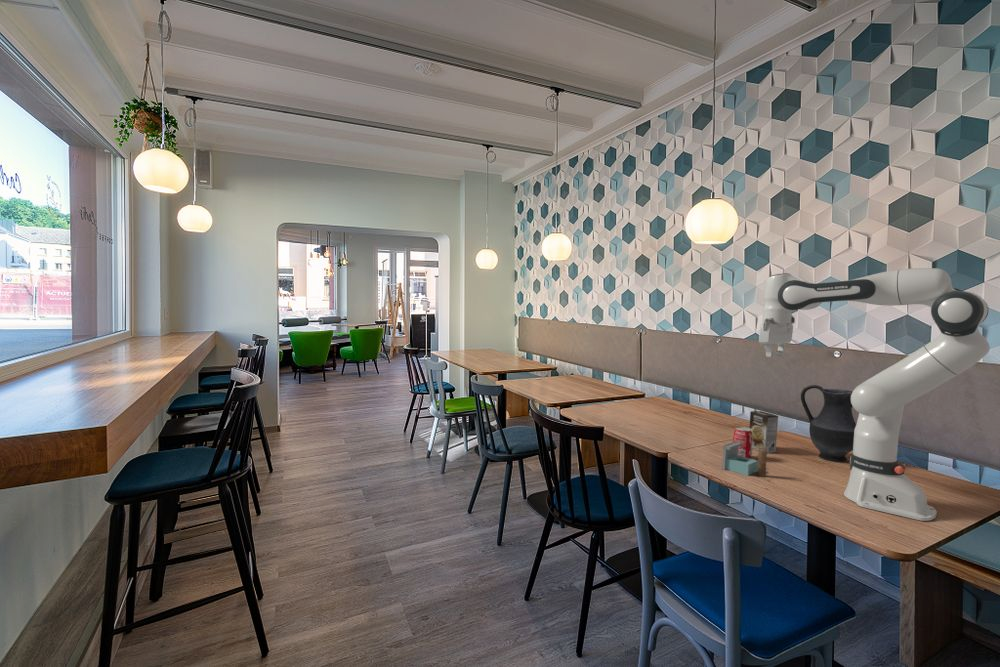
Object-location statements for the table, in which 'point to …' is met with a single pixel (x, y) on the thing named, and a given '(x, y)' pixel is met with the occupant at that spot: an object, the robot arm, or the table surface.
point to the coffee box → (764, 430)
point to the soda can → (744, 441)
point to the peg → (762, 462)
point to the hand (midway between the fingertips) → (774, 356)
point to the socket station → (737, 460)
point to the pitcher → (832, 424)
